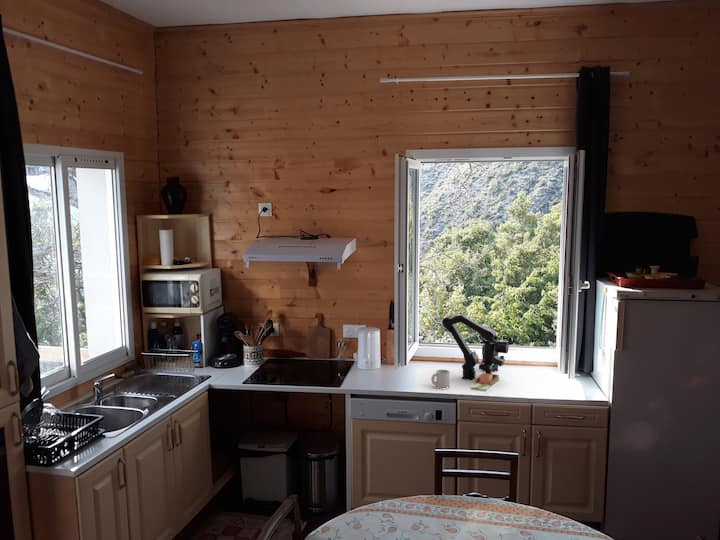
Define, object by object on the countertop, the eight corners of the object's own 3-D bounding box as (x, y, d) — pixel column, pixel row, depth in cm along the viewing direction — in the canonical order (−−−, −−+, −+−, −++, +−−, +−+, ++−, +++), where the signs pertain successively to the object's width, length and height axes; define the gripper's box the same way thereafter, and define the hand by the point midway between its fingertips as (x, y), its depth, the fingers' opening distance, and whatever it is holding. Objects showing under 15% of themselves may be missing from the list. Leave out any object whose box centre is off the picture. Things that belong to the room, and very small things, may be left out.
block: (479, 382, 341) (479, 375, 341) (483, 379, 346) (483, 372, 346) (489, 383, 338) (489, 376, 338) (492, 381, 344) (492, 374, 343)
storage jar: (479, 370, 368) (479, 346, 366) (484, 366, 376) (485, 343, 375) (495, 372, 363) (495, 348, 361) (500, 368, 371) (500, 345, 369)
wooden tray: (470, 388, 333) (470, 383, 333) (484, 377, 353) (484, 372, 353) (485, 391, 329) (485, 385, 328) (498, 380, 348) (498, 375, 348)
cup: (450, 388, 334) (450, 373, 332) (432, 389, 333) (432, 373, 332) (448, 384, 341) (448, 369, 340) (430, 385, 340) (430, 369, 339)
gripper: (498, 356, 333) (497, 384, 335) (508, 349, 349) (507, 375, 351) (478, 354, 338) (478, 381, 340) (489, 347, 354) (489, 373, 356)
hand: (489, 378), depth 347 cm, fingers closed
